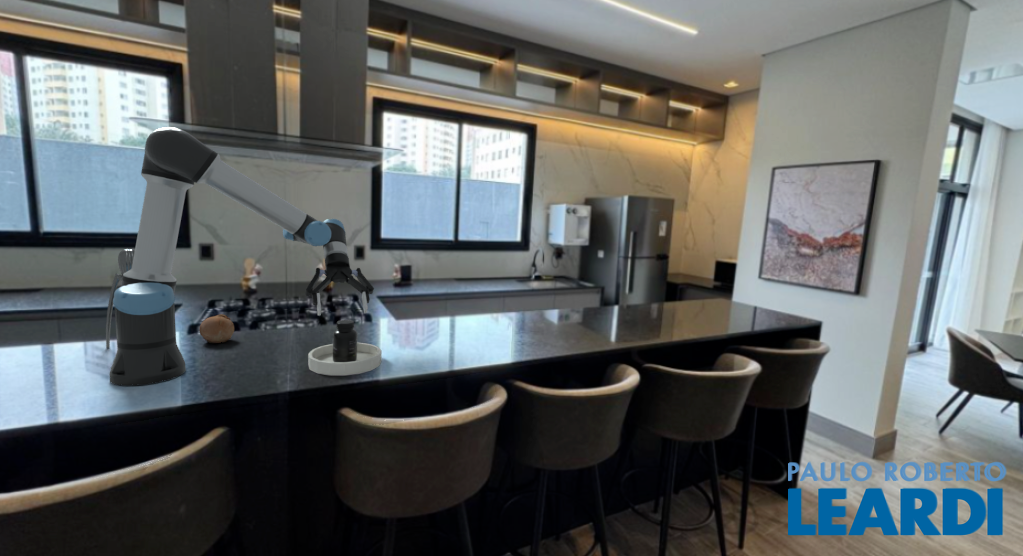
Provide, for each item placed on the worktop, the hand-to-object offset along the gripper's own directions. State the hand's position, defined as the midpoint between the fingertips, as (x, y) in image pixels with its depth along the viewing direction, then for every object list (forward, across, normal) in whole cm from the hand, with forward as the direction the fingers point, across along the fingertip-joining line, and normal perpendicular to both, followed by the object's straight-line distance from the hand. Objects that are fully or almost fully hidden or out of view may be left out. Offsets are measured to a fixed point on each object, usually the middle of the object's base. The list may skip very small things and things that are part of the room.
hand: (343, 312), depth 135 cm
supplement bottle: (+15, 0, -4) cm, 15 cm away
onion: (-9, +35, -30) cm, 47 cm away
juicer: (-11, +56, -32) cm, 65 cm away
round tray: (+15, 0, -4) cm, 16 cm away
